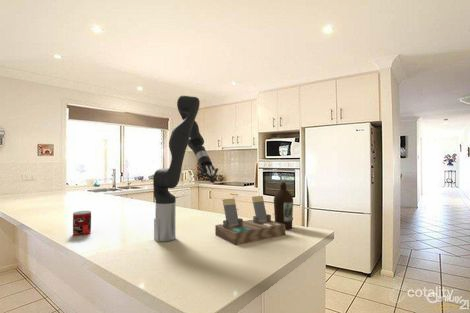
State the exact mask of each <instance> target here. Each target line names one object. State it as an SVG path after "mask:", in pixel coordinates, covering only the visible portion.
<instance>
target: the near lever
mask: <svg viewBox="0 0 470 313" xmlns="http://www.w3.org/2000/svg"><path fill="white" fill-rule="evenodd" d="M236 204H237V203H236V199H235V197H234V198H224V199H222V206H223V211H224V215H225V220H227V221H229V227H230V226H237V225H239V220H238V218H239V217H238V211H237V205H236Z"/></svg>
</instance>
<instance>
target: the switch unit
mask: <svg viewBox="0 0 470 313" xmlns="http://www.w3.org/2000/svg"><path fill="white" fill-rule="evenodd" d="M266 214H267V213H266ZM238 220H239V225H237V226H230V227H229V221H227V220H226V219H225V220H223V221H222V223H219V224H215V226H214V227H215V229H214V230H215V236H216V237H218V238H220V239H222V240H224V241H226V242H228V243H231V244H232V245H234V246H236V245H240V244H245V243H247V244H248V243H251V242H255V241H260V240H265V239H271V238H275V237H280V236H281V237H282V236H285V235H286V230H285V224H281V223H278V222H275V220H272V214H267V221H262V222H259V217H257V216H256V215H254V216H253V217H252V219H248V220H247V219H246V220H243V218H241V217H238Z"/></svg>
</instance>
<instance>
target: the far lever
mask: <svg viewBox="0 0 470 313" xmlns="http://www.w3.org/2000/svg"><path fill="white" fill-rule="evenodd" d="M251 200H252V204H253V210H254V213H255V215H254V216H257V217H259V222H262V221H267V211H266V207H265V202H264V196H263V195H257V196H252V197H251Z"/></svg>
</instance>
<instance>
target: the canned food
mask: <svg viewBox="0 0 470 313" xmlns="http://www.w3.org/2000/svg"><path fill="white" fill-rule="evenodd" d="M91 232H92V211H91V210H79V211H74V212H73V214H72V234H73V236H76V237H79V236H86V235H89V234H91Z"/></svg>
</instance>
